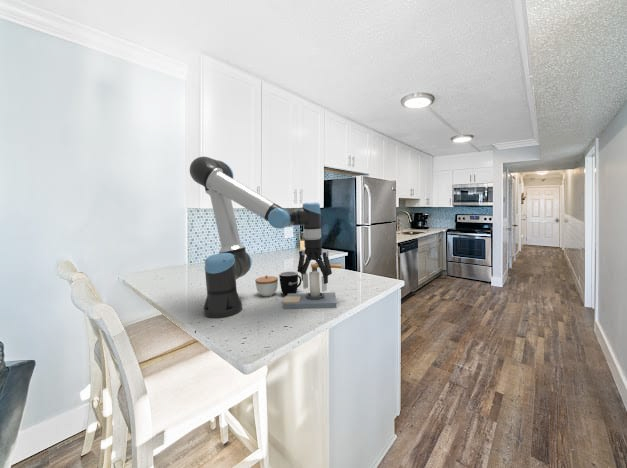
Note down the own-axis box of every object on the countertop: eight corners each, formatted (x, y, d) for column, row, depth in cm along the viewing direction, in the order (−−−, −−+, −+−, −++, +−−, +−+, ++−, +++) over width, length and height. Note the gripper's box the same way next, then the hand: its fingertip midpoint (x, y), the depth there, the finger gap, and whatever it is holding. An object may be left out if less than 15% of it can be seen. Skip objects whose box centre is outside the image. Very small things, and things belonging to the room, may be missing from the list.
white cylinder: (309, 298, 119) (308, 273, 118) (310, 295, 123) (309, 271, 122) (320, 298, 119) (319, 273, 118) (320, 295, 123) (319, 271, 122)
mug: (287, 298, 128) (286, 276, 127) (276, 294, 134) (275, 273, 133) (307, 292, 135) (306, 272, 135) (296, 288, 142) (295, 269, 141)
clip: (310, 267, 124) (309, 264, 124) (312, 266, 127) (312, 263, 127) (340, 268, 119) (340, 266, 119) (342, 267, 122) (342, 264, 122)
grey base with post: (282, 308, 114) (280, 275, 113) (287, 297, 128) (285, 267, 127) (336, 307, 113) (335, 273, 112) (335, 296, 127) (334, 266, 126)
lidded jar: (254, 293, 138) (253, 274, 137) (275, 290, 141) (274, 272, 140) (258, 299, 128) (257, 279, 127) (280, 295, 131) (279, 276, 130)
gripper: (339, 238, 116) (340, 290, 118) (297, 237, 128) (299, 284, 130) (330, 240, 110) (332, 295, 112) (287, 238, 121) (290, 288, 124)
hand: (314, 289), depth 121 cm, fingers open, 9 cm apart
